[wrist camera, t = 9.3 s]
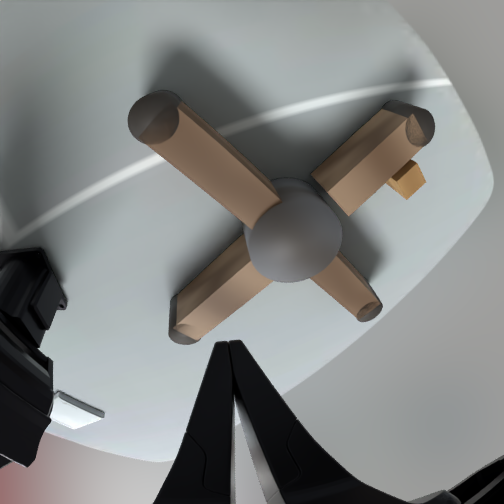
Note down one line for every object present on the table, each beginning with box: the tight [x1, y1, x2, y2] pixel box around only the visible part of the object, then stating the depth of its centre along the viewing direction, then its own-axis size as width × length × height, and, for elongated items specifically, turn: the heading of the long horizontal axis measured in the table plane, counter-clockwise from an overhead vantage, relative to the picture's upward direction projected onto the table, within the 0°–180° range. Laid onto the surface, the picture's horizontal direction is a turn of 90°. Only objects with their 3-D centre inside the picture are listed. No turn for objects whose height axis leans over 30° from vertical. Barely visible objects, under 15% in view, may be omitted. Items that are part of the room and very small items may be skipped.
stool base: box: [128, 90, 426, 345], centre depth 20 cm, size 22×25×4 cm
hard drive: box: [50, 392, 105, 429], centre depth 34 cm, size 2×8×12 cm
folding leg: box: [311, 100, 435, 216], centre depth 17 cm, size 9×3×3 cm, turn 135°
